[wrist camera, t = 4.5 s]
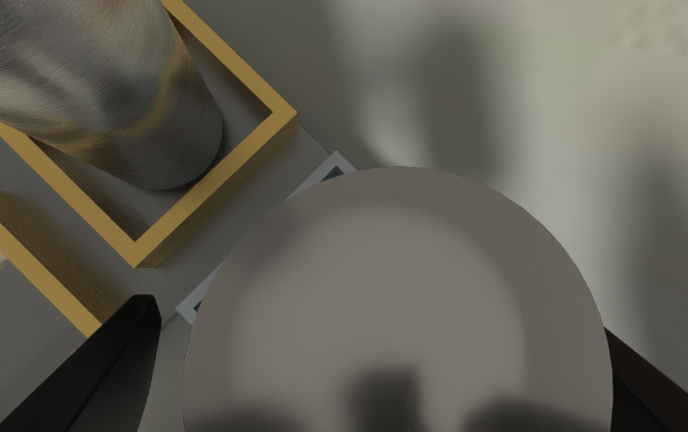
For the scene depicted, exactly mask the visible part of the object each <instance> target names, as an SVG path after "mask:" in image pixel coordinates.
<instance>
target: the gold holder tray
mask: <svg viewBox="0 0 688 432" xmlns="http://www.w3.org/2000/svg"><path fill="white" fill-rule="evenodd" d="M161 2H162V4H163V6H164V7H165V9H166V11H167V13H168V15H169V17H170V19H171V20H172V22H173V24H174V26H175V28H176V30H177V31H178V33H179V35H180V37H181V39H182V41H183V43H184V44H185V46H186V48H187V50H188V52H189V54H190V55H191V57H192V59H193V61H194V63H195V65H196V67H197V68H198V70H199V72H200V74H201V76H202V78H203V79H204V81H205V83H206V85H207V87H208V89H209V91H210V92H211V94H212V96H213V98H214V100H215V102H216V104H217V106H218V108H219V111H220V114H221V119H222V129H223V130H222V139H221V143H220V147H219V149H218V152H217V154H216V156H215V158H214V159H213V161H212V162H211V164H210V165H209V166H208V167H207V168H206V169H205V171H204V172H202V173H201V174H200V175H199V176H198V177H196V178H195V179H193V180H191V181H190V182H188V183H186V184H183V185H181V186H178V187H175V188H170V189H162V190H152V189H145V188H140V187H137V186H134V185H131V184H129V183H127V182H125V181H123V180H121V179H119V178H117V177H114V176H112V175H110V174H108V173H106V172H104V171H102V170H100V169H98V168H96V167H94V166H91V165H89V164H87V163H85V162H83V161H81V160H79V159H77V158H75V157H73V156H71V155H68V154H66V153H64V152H62V151H60V150H58V149H56V148H54V147H52V146H50V145H48V144H45V143H43V142H41V141H39V140H37V139H35V138H33V137H31V136H29V135H27V134H25V133H22V132H20V131H18V130H16V129H14V128H12V127H10V126H8V125H6V124H4V123H2V122H0V422H1V421H2V420H3V419H4V418H5V417H6V416H7V415H9V414H10V413H11V412H12V411H13V410H14V409H15V408H16V407H17V406H18V405H19V404H20V403H21V402H22V401H23V400H24V399H25V398H26V397H27V396H28V395H29V394H30V393H31V392H32V391H33V390H35V389H36V388H37V387H38V386H39V385H40V384H41V383H42V382H43V381H44V380H45V379H46V378H47V377H48V376H49V375H50V374H51V373H52V372H53V371H54V370H55V369H56V368H57V367H58V366H60V365H61V364H62V363H63V362H64V361H65V360H66V359H67V358H68V357H69V356H70V355H71V354H72V353H73V352H74V351H75V350H76V349H77V348H78V347H79V346H80V345H81V344H82V343H83V342H84V341H86V340H87V339H88V338H89V337H90V336H91V335H92V334H93V333H94V332H95V331H96V330H97V329H98V328H99V327H100V326H101V325H102V324H103V323H104V322H105V321H106V320H107V319H108V318H109V317H111V316H112V315H113V314H114V313H115V312H116V311H117V310H118V309H119V308H120V307H121V306H122V305H123V304H124V303H125V302H126V301H127V300H128V299H129V298H130V297H132V296H133V295H136V294H151V295H153V296H154V297H155V299H156V302H157V305H158V308H159V312H160V315H161V319H162V326H161V330H162V329H163V328H164V327H165V326H166V325H167V324H168V323H169V322H170V321H171V320H172V319H173V318H175V317H176V316H177V315H178V314H179V313H178V312H177V311H176V310H175V308H176V307H177V306H178V305H179V304H180V303H181V302H182V301H183V300H184V299H185V298H186V297H187V296H188V295H189V294H190V293H191V292H192V291H193V290H194V289H195V288H196V287H197V286H199V285H200V284H201V283H202V282H203V281H204V280H205V279H206V278H207V277H208V276H209V275H210V274H211V273H212V272H213V271H214V270H215V269H216V268H217V267H218V266H219V265H220V264H221V263H222V262H223V261H224V260H225V259H226V258H227V256H228V255H229V253H230V252H231V250H232V249H233V248H234V247H235V246H236V244H237V243H238V242H239V241H240V240H241V239H242V238H243V237H244V236H245V234H246V233H247V232H248V231H249V230H250V229H251V228H252V227H253V226H254V225H255V224H256V223H258V222H259V221H260V220H261V219H262V218H263V217H264V216H266V215H267V214H268V213H269V212H270V211H271V210H273V209H274V208H276V207H277V206H279V205H280V204H282V203H283V202H284V201H285V200H286V199H287V198H288V197H289V196H290V195H291V194H292V193H293V192H294V191H295V190H296V189H297V188H298V187H299V186H300V185H301V184H302V183H303V182H304V181H305V180H306V179H307V178H308V177H309V176H310V175H311V174H312V173H313V172H314V171H315V170H316V169H317V168H318V167H319V166H320V165H321V164H322V163H323V162H324V161H325V160H326V159H327V158H328V157H329V156H330V155H331V154H330V153H329V152H328V151H326V150H325V149H324V148H323V147H322V146H321V145H320V144H319V143H318V142H317V141H316V140H315V139H314V138H313V137H312V136H311V135H310V134H309V133H308V132H307V131H306V130H305V129H304V128H303V127H302V126H301V125H300V124H299V123H298V112H297V111H296V110H295V109H294V108H292V107H291V106H290V105H289V104H288V103H287V102H286V101H285V100H284V99H283V98H282V97H281V96H280V95H279V94H278V93H277V92H276V91H275V90H274V89H273V88H272V87H271V86H270V85H269V84H268V83H267V82H266V81H265V80H264V79H263V78H261V77H260V76H259V75H258V74H257V73H256V72H255V71H254V70H253V69H252V68H251V67H250V66H249V65H248V64H247V63H246V62H245V61H244V60H243V59H242V58H241V57H240V56H239V55H238V54H237V53H236V52H235V51H234V50H233V49H232V48H230V47H229V46H228V45H227V44H226V43H225V42H224V41H223V40H222V39H221V38H220V37H219V36H218V35H217V34H216V33H215V32H214V31H213V30H212V29H211V28H210V27H209V26H208V25H207V24H206V23H205V22H204V21H203V20H202V19H201V18H199V17H198V16H197V15H196V14H195V13H194V12H193V11H192V10H191V9H190V8H189V7H188V6H187V5H186V4H185V3H184V2H183V1H182V0H161Z"/></svg>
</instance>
